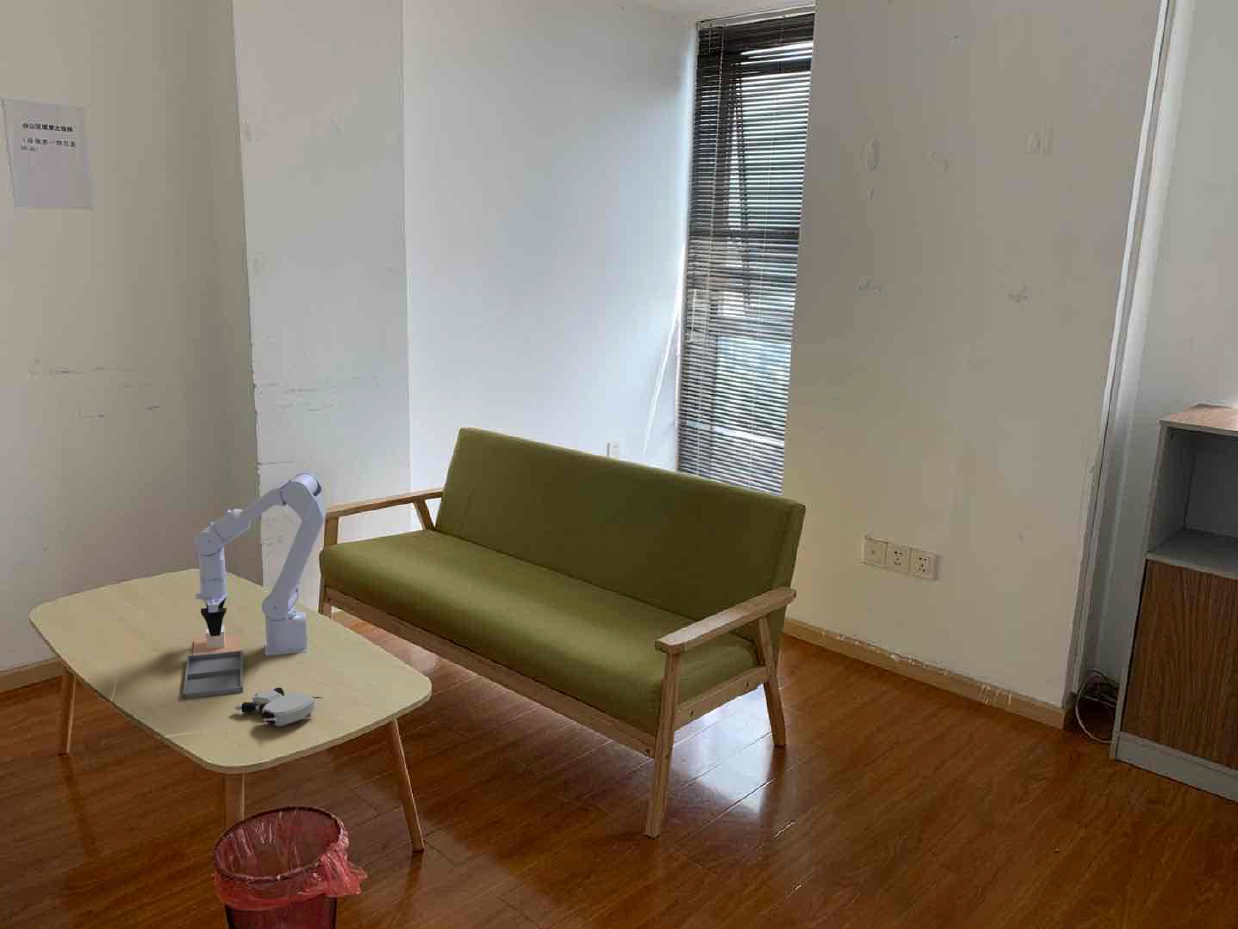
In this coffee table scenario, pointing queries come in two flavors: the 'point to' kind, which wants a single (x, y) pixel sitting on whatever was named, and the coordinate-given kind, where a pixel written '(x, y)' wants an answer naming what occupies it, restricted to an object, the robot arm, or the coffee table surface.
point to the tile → (230, 645)
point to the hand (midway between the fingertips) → (215, 629)
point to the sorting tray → (213, 674)
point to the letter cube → (215, 639)
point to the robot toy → (280, 706)
